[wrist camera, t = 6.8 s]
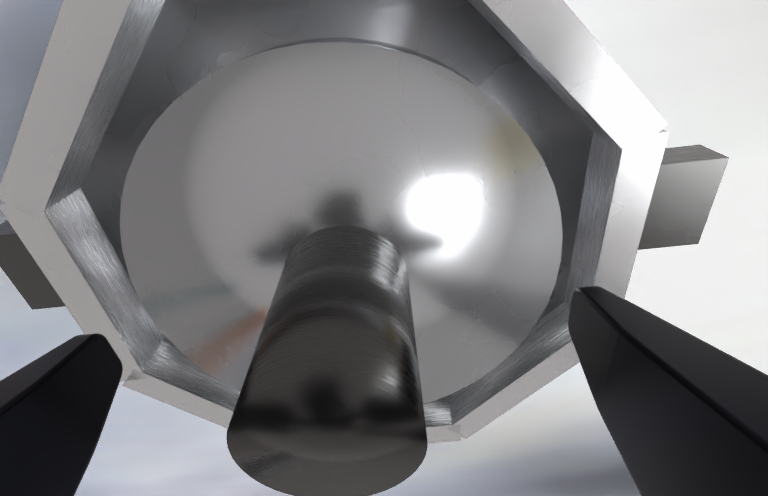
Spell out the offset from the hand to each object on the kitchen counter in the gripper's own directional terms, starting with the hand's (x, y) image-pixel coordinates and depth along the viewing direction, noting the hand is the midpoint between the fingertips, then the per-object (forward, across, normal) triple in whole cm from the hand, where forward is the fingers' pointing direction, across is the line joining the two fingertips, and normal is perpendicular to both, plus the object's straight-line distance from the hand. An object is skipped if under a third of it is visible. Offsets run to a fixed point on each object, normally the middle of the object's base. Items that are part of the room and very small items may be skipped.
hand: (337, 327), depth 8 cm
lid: (+3, 0, 0) cm, 3 cm away
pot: (+8, 0, 0) cm, 8 cm away
